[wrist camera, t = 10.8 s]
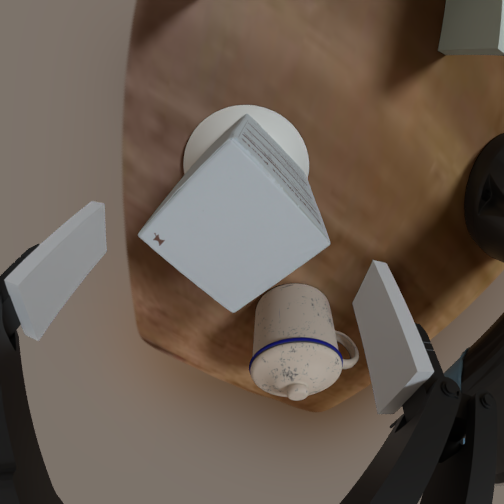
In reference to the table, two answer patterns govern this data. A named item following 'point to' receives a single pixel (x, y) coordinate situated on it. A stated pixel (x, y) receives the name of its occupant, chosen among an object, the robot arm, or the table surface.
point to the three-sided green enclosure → (473, 28)
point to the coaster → (264, 117)
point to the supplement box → (238, 218)
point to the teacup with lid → (297, 343)
